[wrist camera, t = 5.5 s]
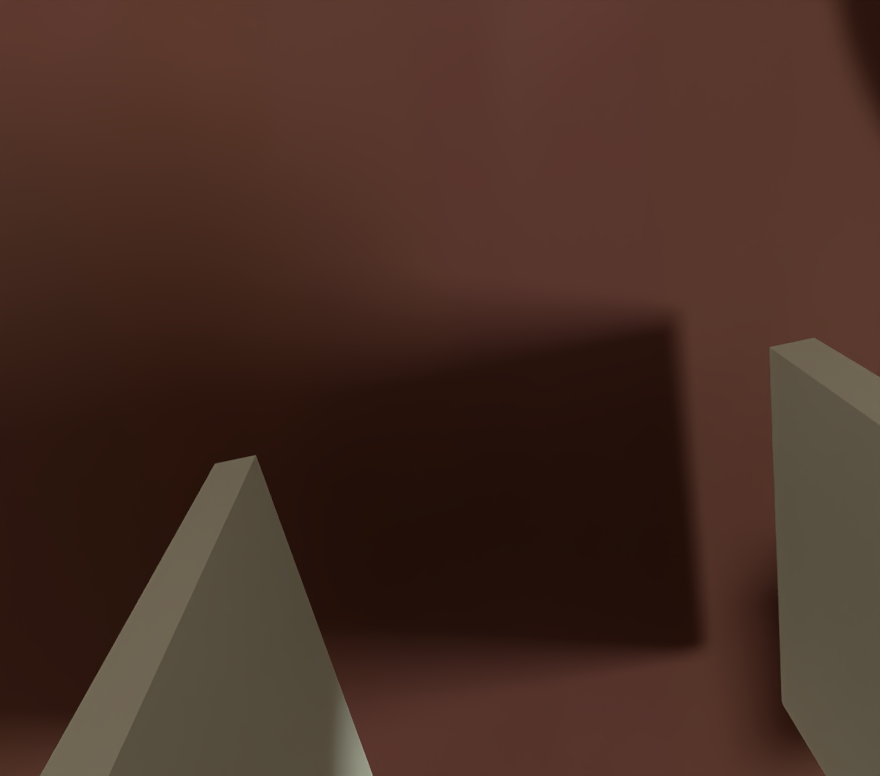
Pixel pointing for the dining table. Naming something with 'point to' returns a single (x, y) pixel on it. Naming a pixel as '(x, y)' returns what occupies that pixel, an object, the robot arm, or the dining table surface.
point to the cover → (312, 674)
